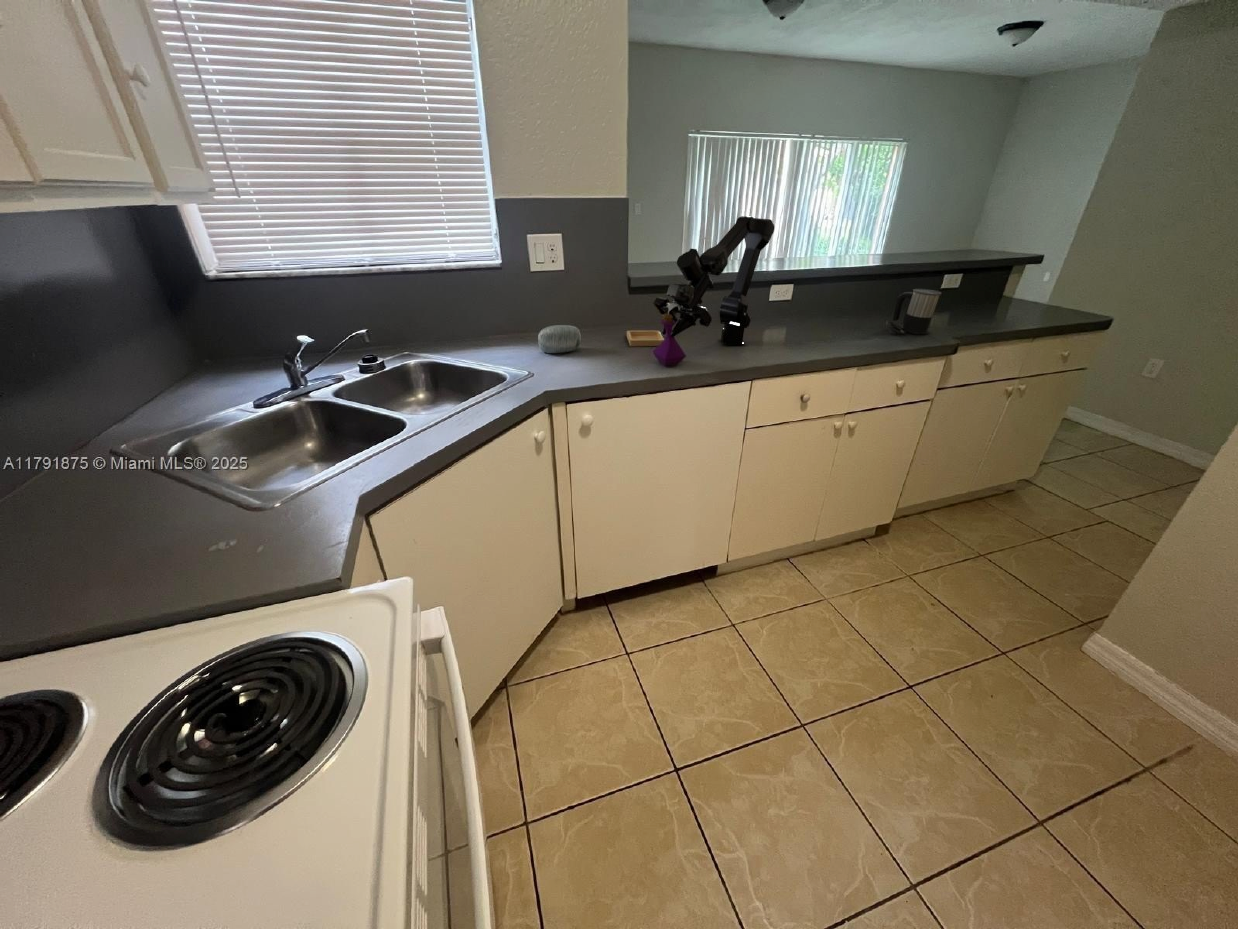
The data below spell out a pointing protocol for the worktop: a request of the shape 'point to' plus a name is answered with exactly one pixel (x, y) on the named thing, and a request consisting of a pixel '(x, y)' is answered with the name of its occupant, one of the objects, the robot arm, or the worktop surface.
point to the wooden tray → (644, 338)
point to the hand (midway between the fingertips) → (667, 335)
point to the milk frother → (915, 311)
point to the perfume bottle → (669, 343)
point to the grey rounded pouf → (559, 339)
